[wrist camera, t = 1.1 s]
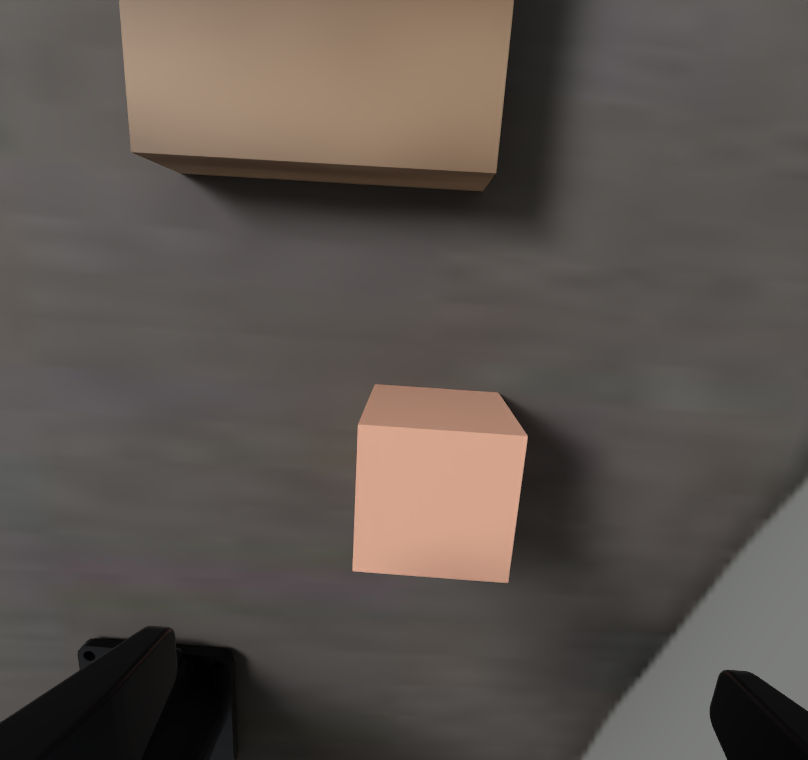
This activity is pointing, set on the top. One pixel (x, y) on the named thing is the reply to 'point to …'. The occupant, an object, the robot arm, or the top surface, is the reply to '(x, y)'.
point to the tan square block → (319, 88)
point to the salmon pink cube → (437, 484)
